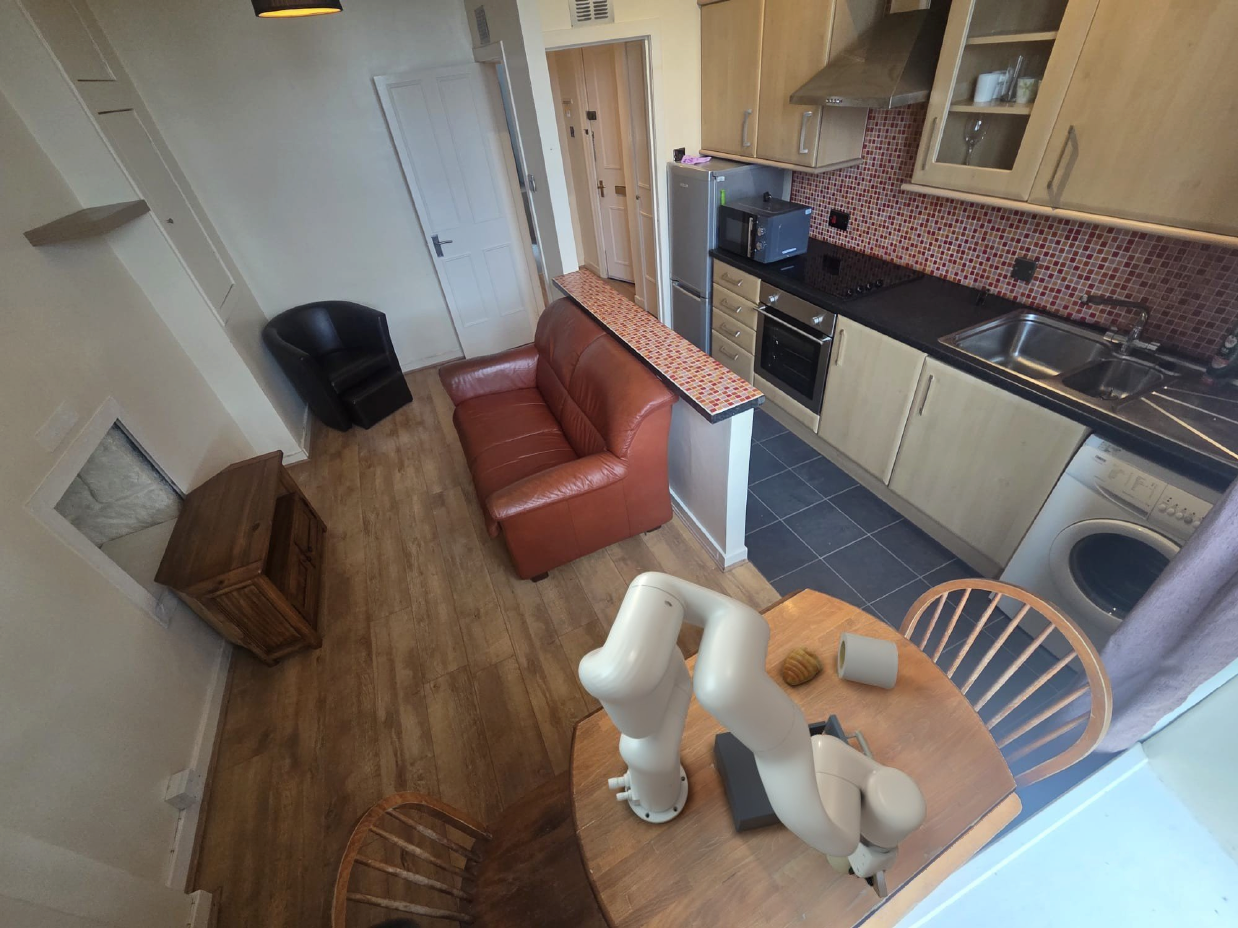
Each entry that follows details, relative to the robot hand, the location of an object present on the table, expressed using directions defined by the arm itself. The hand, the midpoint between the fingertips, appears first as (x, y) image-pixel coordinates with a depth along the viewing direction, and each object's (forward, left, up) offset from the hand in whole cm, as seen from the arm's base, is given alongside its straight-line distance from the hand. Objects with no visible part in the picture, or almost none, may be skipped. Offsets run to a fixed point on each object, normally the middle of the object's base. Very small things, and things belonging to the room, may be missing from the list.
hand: (848, 847), depth 87 cm
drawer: (+4, +14, -6) cm, 16 cm away
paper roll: (0, 0, -5) cm, 5 cm away
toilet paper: (+21, +31, -7) cm, 38 cm away
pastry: (+8, +34, -7) cm, 36 cm away
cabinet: (-10, +14, -7) cm, 19 cm away
